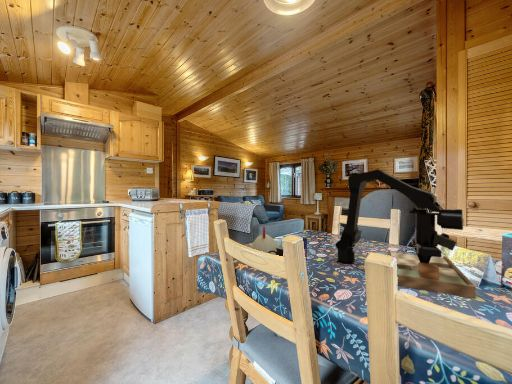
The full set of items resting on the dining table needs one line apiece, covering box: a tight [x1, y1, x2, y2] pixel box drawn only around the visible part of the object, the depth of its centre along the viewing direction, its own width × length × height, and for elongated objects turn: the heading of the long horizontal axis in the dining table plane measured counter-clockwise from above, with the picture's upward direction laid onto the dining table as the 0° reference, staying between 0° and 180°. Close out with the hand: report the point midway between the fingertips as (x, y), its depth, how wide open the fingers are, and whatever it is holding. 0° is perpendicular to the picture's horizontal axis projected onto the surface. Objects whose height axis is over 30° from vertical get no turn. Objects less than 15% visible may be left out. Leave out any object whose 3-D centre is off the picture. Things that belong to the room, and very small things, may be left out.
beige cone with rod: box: [249, 226, 278, 255], centre depth 108 cm, size 14×14×15 cm
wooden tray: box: [387, 249, 477, 299], centre depth 90 cm, size 22×35×4 cm, turn 152°
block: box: [419, 262, 439, 280], centre depth 80 cm, size 5×5×4 cm
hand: (424, 269), depth 84 cm, fingers closed
